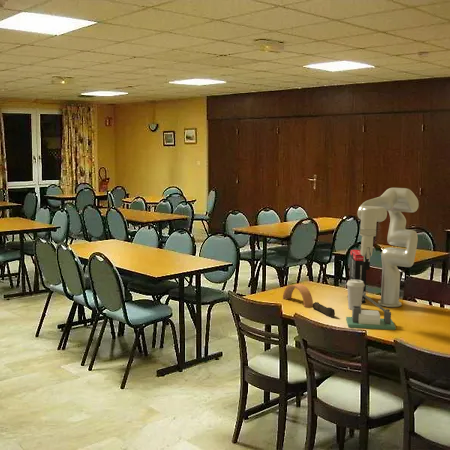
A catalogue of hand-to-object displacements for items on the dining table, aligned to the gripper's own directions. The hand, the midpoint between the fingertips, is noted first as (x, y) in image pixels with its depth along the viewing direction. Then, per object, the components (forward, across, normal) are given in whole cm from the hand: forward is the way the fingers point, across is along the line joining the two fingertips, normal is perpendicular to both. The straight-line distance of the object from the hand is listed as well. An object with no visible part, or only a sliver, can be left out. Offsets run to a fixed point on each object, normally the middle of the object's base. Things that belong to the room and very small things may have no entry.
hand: (366, 269), depth 300 cm
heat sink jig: (+26, +6, +3) cm, 27 cm away
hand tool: (+26, -10, -18) cm, 34 cm away
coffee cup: (+26, -22, -2) cm, 34 cm away
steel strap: (+16, +7, +4) cm, 18 cm away
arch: (+26, -30, -33) cm, 51 cm away
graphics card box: (+25, -42, 0) cm, 49 cm away
